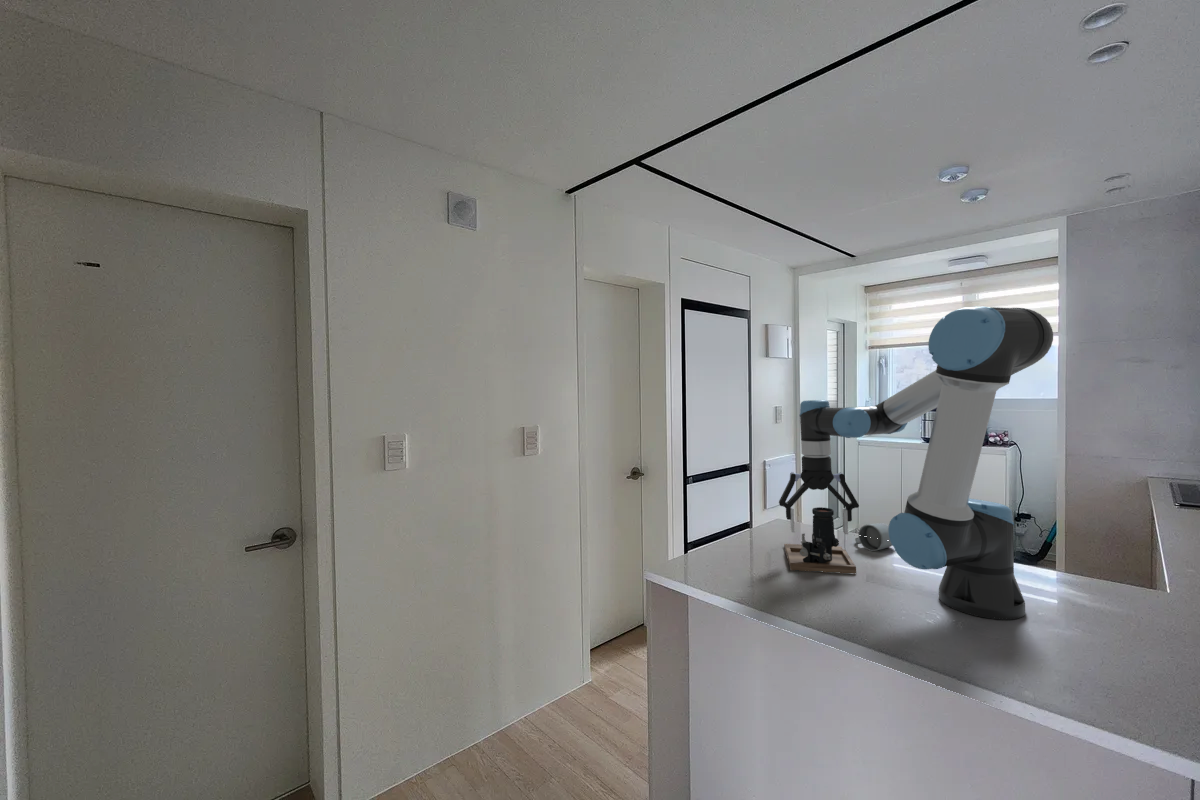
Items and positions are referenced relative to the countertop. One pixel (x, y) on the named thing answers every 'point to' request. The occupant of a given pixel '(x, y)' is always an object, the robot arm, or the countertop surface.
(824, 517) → the scope
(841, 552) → the wooden tray
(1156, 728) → the countertop surface
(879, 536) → the ceramic mug
